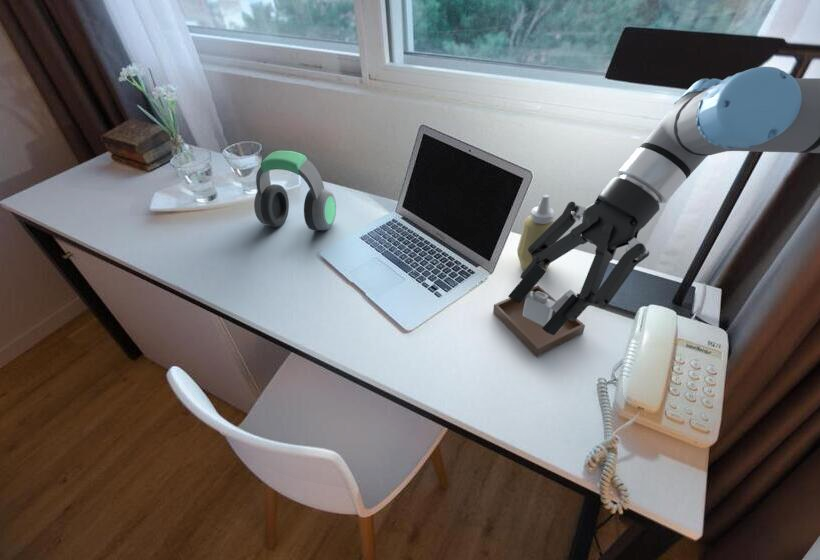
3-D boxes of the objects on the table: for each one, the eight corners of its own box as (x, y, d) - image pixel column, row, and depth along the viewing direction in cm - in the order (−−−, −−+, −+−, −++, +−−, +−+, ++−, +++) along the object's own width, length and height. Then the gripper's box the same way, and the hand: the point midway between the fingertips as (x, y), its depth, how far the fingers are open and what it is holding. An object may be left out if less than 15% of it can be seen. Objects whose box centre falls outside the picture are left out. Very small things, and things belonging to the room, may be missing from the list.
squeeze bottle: (520, 278, 95) (531, 208, 83) (511, 256, 101) (520, 187, 89) (557, 275, 95) (573, 204, 83) (545, 253, 101) (558, 184, 89)
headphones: (258, 233, 113) (234, 162, 100) (277, 211, 121) (256, 143, 108) (326, 240, 109) (310, 167, 96) (340, 216, 117) (327, 146, 104)
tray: (582, 333, 82) (585, 325, 81) (536, 357, 78) (538, 349, 77) (536, 293, 91) (538, 285, 89) (492, 312, 87) (493, 304, 86)
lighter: (522, 315, 70) (528, 278, 65) (527, 309, 71) (534, 272, 66) (563, 336, 66) (573, 298, 61) (568, 329, 67) (578, 292, 62)
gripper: (711, 236, 56) (589, 365, 61) (593, 174, 69) (502, 284, 75) (699, 213, 50) (567, 356, 56) (575, 151, 64) (478, 271, 69)
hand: (530, 315), depth 65 cm, fingers closed on lighter, 7 cm apart
